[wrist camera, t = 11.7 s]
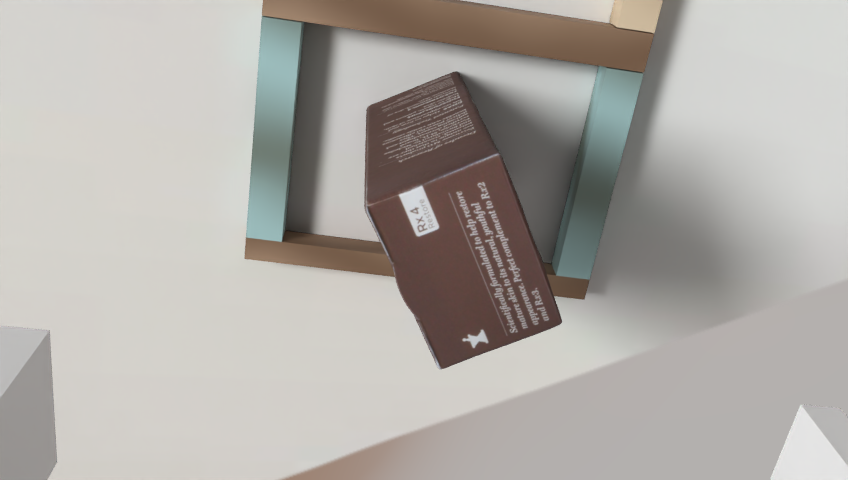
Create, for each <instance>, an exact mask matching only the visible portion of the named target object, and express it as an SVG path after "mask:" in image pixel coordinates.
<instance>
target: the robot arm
mask: <svg viewBox="0 0 848 480" xmlns="http://www.w3.org/2000/svg"><path fill="white" fill-rule="evenodd" d="M56 463H57V452H56V434H55V417H54V399H53V381H52V364H51V346H50V330H40V329H30V328H20V327H10V326H1V327H0V480H47V479H48V477H49V476H50V474H51V472H52V470H53V468H54V467H55V465H56ZM770 480H848V417H847V415H846V414H845V413H844V412H843V411H842V410H841V408H832V407H822V406H812V405H802V404H801V405H800V407H799V410H798V413H797V415H796V417H795V420H794V422H793V425H792V427H791V430H790V432H789V434H788V437H787V440H786V442H785V444H784V447H783V449H782V452H781V454H780V457H779V459H778V462H777V464H776V466H775V469H774V472H773V474H772V476H771V479H770Z"/></svg>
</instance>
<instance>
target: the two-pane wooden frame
mask: <svg viewBox="0 0 848 480" xmlns="http://www.w3.org/2000/svg"><path fill="white" fill-rule="evenodd" d="M662 2H663V0H615V1H614V5H613V9H612V13H611V18H610V23H611V24H609V23H603V22H596V21H590V20H583V19H577V18H570V17H564V16H557V15H551V14H545V13H538V12H532V11H525V10H519V9H512V8H506V7H499V6H493V5H486V4H480V3H473V2H467V1H460V0H263V8H262V22H261V36H260V50H259V64H258V78H257V92H256V106H255V120H254V134H253V148H252V162H251V176H250V190H249V204H248V218H247V232H246V246H245V259H251V260H260V261H268V262H276V263H285V264H293V265H301V266H309V267H318V268H326V269H334V270H343V271H351V272H359V273H368V274H376V275H384V276H393V277H395V274H394V270H393V268H392V266H391V264H390V262H389V260H388V258H387V255H386V253H385V251H384V249H383V247H382V245H381V243H380V242H372V241H364V240H356V239H348V238H340V237H332V236H324V235H316V234H308V233H300V232H292V231H285V226H286V215H287V204H288V194H289V183H290V172H291V161H292V150H293V139H294V128H295V118H296V107H297V96H298V85H299V74H300V63H301V53H302V42H303V31H304V22H309V23H316V24H323V25H329V26H336V27H343V28H349V29H356V30H363V31H369V32H376V33H383V34H390V35H396V36H403V37H410V38H416V39H423V40H430V41H436V42H443V43H450V44H457V45H463V46H470V47H477V48H483V49H490V50H497V51H504V52H510V53H517V54H524V55H530V56H537V57H544V58H550V59H557V60H564V61H571V62H577V63H584V64H591V65H597V66H599V68H598V72H597V76H596V80H595V84H594V88H593V93H592V97H591V101H590V105H589V109H588V113H587V118H586V122H585V126H584V130H583V134H582V138H581V143H580V147H579V151H578V155H577V159H576V163H575V168H574V172H573V176H572V180H571V184H570V188H569V193H568V197H567V201H566V205H565V209H564V213H563V218H562V222H561V226H560V230H559V234H558V238H557V243H556V247H555V251H554V255H553V259H552V263H551V264H549V263H544V267H545V270H546V273H547V276H548V280H549V283H550V286H551V289H552V292H553V295H554V296H559V297H567V298H576V299H585V295H586V291H587V287H588V283H589V280H590V276H591V272H592V268H593V264H594V261H595V257H596V253H597V249H598V245H599V242H600V238H601V234H602V230H603V226H604V223H605V219H606V215H607V211H608V207H609V204H610V200H611V196H612V192H613V188H614V185H615V181H616V177H617V173H618V169H619V166H620V162H621V158H622V154H623V150H624V147H625V143H626V139H627V135H628V131H629V128H630V124H631V120H632V116H633V112H634V109H635V105H636V101H637V97H638V93H639V90H640V86H641V82H642V78H643V73H642V72H644V71H645V67H646V63H647V59H648V55H649V52H650V48H651V44H652V40H653V36H654V34H653V33H655V29H656V25H657V21H658V17H659V14H660V10H661V6H662Z"/></svg>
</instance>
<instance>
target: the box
mask: <svg viewBox="0 0 848 480" xmlns="http://www.w3.org/2000/svg"><path fill="white" fill-rule="evenodd" d="M366 111H367V114H366V144H365V145H366V148H365V150H366V152H365V205H364V207H365V211H366V214H367V216H368V218H369V220H370V222H371V223H372V226H373V228H374V230H375V232H376V234H377V236H378V238H379V241H380V243H381V245H382V247H383V249H384V251H385V253H386V255H387V258H388V260H389V262H390V264H391V266H392V268H393V270H394V274H395V279H396V283H397V286H398V289H399V291H400V294H401V296H402V298H403V300H404V301H405V303H406V305H407V306H408V308H409V309H410V310H411V312H412V313H413V314H414V316H415V319H416V321H417V323H418V325H419V327H420V329H421V332H422V334H423V336H424V339H425V341H426V343H427V345H428V347H429V350H430V352H431V354H432V356H433V358H434V360H435V363H436V365H437V367H438V368H439V369H444V368H447V367H449V366H452V365H454V364H457V363H459V362H462V361H465V360H467V359H470V358H472V357H475V356H478V355H480V354H483V353H486V352H488V351H491V350H494V349H497V348H500V347H502V346H505V345H508V344H511V343H513V342H516V341H519V340H522V339H524V338H527V337H530V336H533V335H535V334H538V333H540V332H543V331H546V330H548V329H551V328H553V327H555V326H557V325H560V324H561V323H562V320H561V316H560V313H559V310H558V307H557V304H556V301H555V298H554V295H553V292H552V289H551V286H550V283H549V280H548V276H547V273H546V270H545V267H544V263H543V261H542V258H541V255H540V253H539V251H538V249H537V247H536V245H535V242H534V240H533V237H532V234H531V231H530V229H529V226H528V223H527V221H526V218H525V215H524V212H523V209H522V206H521V203H520V201H519V198H518V196H517V193H516V191H515V188H514V186H513V183H512V181H511V178H510V176H509V173H508V171H507V168H506V166H505V163H504V161H503V158H502V157H501V155H500V153H499V152H498V150H497V148H496V146H495V144H494V142H493V140H492V138H491V136H490V134H489V132H488V130H487V128H486V126H485V124H484V122H483V120H482V118H481V117H480V115H479V112H478V110H477V107H476V106H475V104H474V102H473V100H472V98H471V96H470V94H469V92H468V89H467V87H466V85H465V83H464V82H463V80H462V78H461V76H460V73H458V72H453V73H450V74H447V75H445V76H442V77H440V78H437V79H435V80H432V81H430V82H427V83H425V84H422V85H420V86H417V87H415V88H413V89H410V90H408V91H405V92H403V93H400V94H398V95H395V96H393V97H390V98H388V99H385V100H383V101H380V102H378V103H375V104H372V105H370V106H369V107H367V110H366Z"/></svg>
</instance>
